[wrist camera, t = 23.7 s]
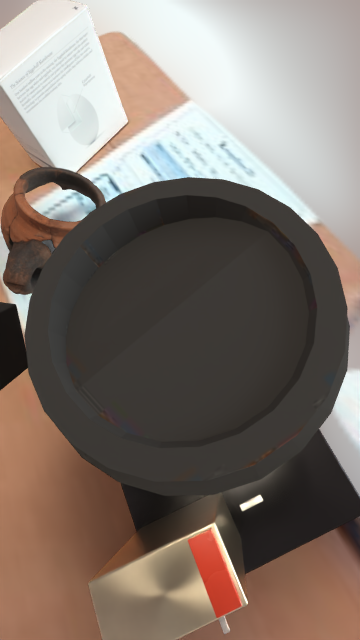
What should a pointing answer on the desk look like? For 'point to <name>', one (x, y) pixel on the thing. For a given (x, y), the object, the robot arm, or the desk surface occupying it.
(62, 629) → the desk surface
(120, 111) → the cosmetics box
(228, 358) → the coffee cup
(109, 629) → the cream block
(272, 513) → the hotplate
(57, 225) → the pottery mug
